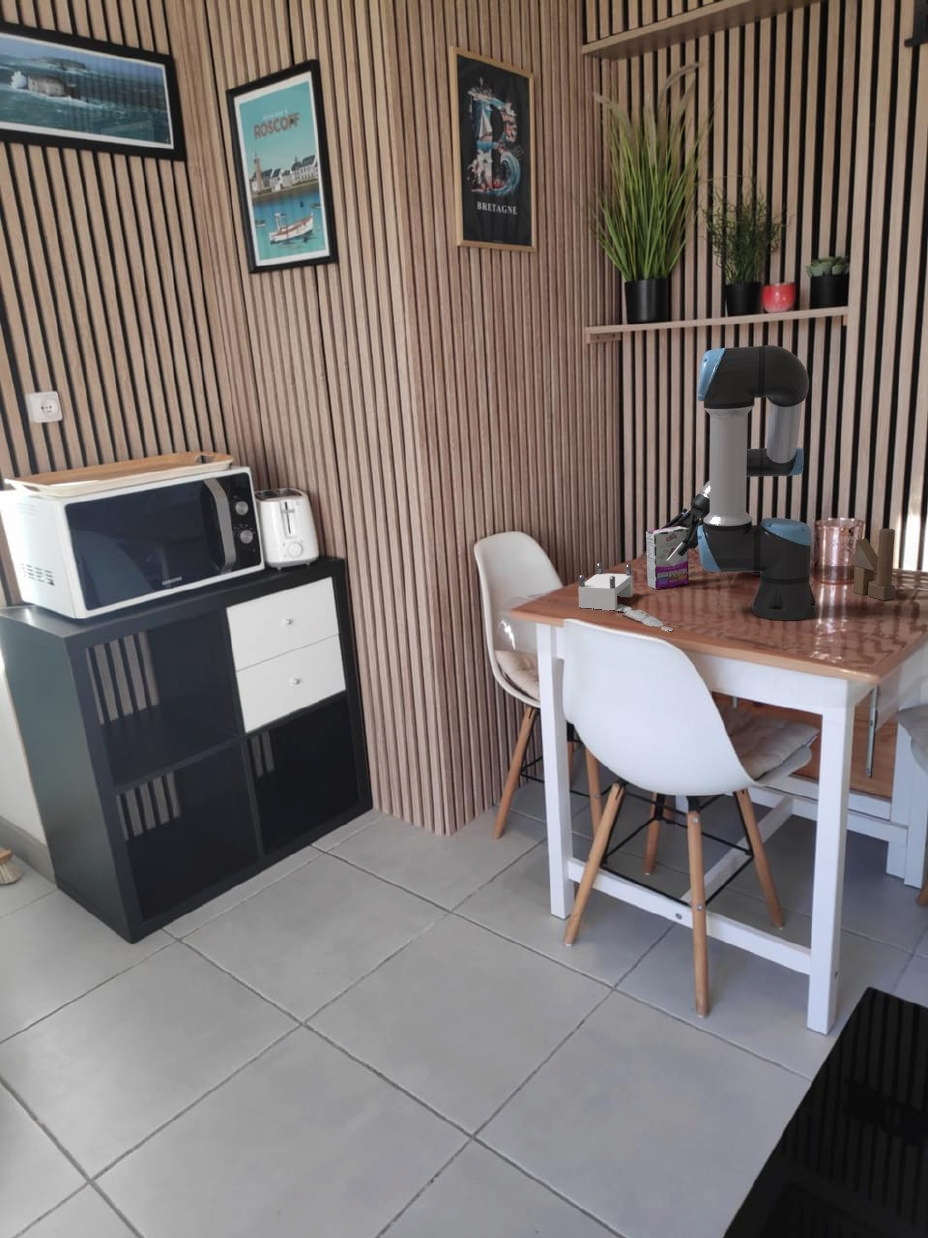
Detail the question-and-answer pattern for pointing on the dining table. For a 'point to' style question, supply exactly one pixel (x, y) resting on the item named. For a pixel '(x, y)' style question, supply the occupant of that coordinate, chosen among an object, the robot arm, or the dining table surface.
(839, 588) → the dining table surface
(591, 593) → the peg shelf
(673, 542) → the candy bar box
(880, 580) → the wooden block stack
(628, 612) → the driftwood
